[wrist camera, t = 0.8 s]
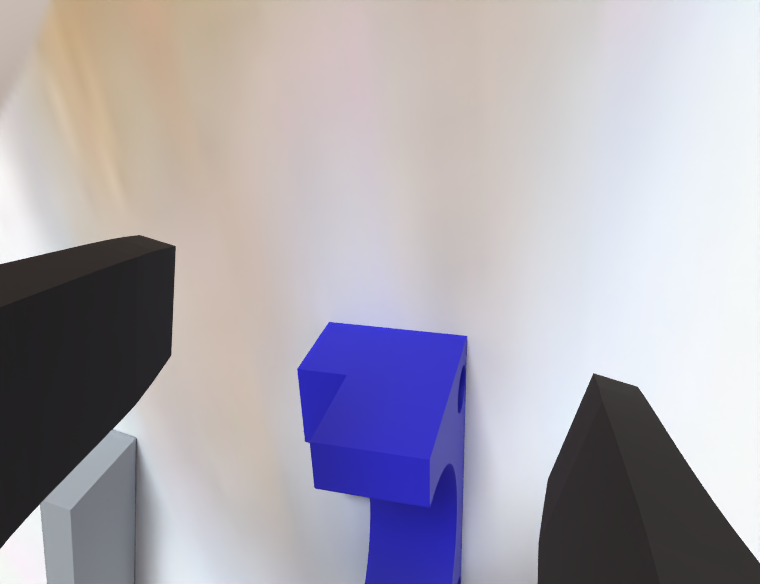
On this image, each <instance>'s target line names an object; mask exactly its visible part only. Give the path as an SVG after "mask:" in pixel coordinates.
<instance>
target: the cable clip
mask: <svg viewBox="0 0 760 584" xmlns="http://www.w3.org/2000/svg"><path fill="white" fill-rule="evenodd" d="M466 357H467V336H462V335H452V334H442V333H432V332H422V331H412V330H402V329H392V328H382V327H373V326H363V325H353V324H343V323H333V322H329V323H328V325H327V326H326V327H325V329H324V330H323V332H322V333H321V335H320V336H319V338H318V339H317V341H316V342H315V344H314V345H313V347H312V348H311V350H310V351H309V353H308V354H307V356H306V357H305V358H304V360H303V361H302V363H301V364H300V366H299V367H298V369H297V370H298V379H299V388H300V398H301V407H302V416H303V426H304V435H305V442H308V443H310V448H311V458H312V467H313V477H314V487H315V488H316V489H322V490H328V491H333V492H339V493H345V494H351V495H357V496H363V497H369V498H370V514H371V516H370V542H369V554H368V564H367V573H366V580H365V584H461V549H462V511H463V472H464V434H465V395H466Z"/></svg>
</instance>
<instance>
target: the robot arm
mask: <svg viewBox="0 0 760 584" xmlns="http://www.w3.org/2000/svg"><path fill="white" fill-rule="evenodd" d="M175 250H176V246H173V245H170V244H167V243H164V242H160V241H157V240H154V239H150V238H147V237H144V236H141V235H138V236H129V237H122V238H116V239H111V240H105V241H101V242H96V243H91V244H87V245H82V246H78V247H73V248H69V249H65V250H60V251H56V252H52V253H47V254H43V255H39V256H34V257H30V258H26V259H21V260H17V261H13V262H8V263H4V264H0V549H1V547H2V546H3V545H4V544H5V542H6V541H7V540H8V539H9V537H10V536H11V535H12V534H13V533H14V532H15V531H16V530H17V528H18V527H19V526H20V525H21V524H22V523H23V522H24V521H25V519H26V518H27V517H28V516H29V515H30V514H31V513H32V512H33V511H34V510H35V509H36V508H37V506H38V505H39V504H40V503H41V502H42V501H43V500H44V499H45V498H46V497H47V496H48V495H49V494H50V493H51V492H52V491H53V490H54V489H55V488H56V487H57V486H58V485H59V484H60V483H61V482H62V481H63V480H64V479H65V478H66V477H67V476H68V475H69V474H70V473H71V472H72V471H73V470H74V468H75V467H76V466H77V465H78V464H79V463H80V462H81V461H82V460H83V459H84V458H85V457H86V456H87V455H88V454H89V453H90V452H91V451H92V450H93V449H94V448H95V447H96V446H97V445H98V444H99V443H100V442H101V441H102V440H103V439H104V438H105V437H106V436H107V434H108V433H109V432H110V431H111V430H112V429H113V428H114V427H115V426H116V425H117V424H118V423H119V422H120V421H121V420H122V419H123V418H124V417H125V416H126V415H127V413H128V412H129V411H130V410H131V409H132V408H133V407H134V406H135V405H136V404H137V402H138V401H139V400H140V398H141V397H142V396H143V394H144V393H145V392H146V390H147V389H148V388H149V386H150V385H151V384H152V382H153V381H154V379H155V378H156V377H157V375H158V374H159V372H160V371H161V369H162V368H163V366H164V365H165V364H166V362H167V361H168V359H169V358H170V356H171V347H172V322H173V298H174V274H175ZM538 584H760V563H759V562H758V560H757V559H756V558H755V556H754V555H753V554H752V553H751V551H750V550H749V549H748V547H747V546H746V545H745V543H744V542H743V541H742V539H741V538H740V537H739V536H738V534H737V533H736V532H735V530H734V529H733V528H732V526H731V525H730V524H729V522H728V521H727V520H726V518H725V517H724V515H723V514H722V513H721V511H720V510H719V508H718V507H717V506H716V504H715V503H714V501H713V500H712V499H711V497H710V496H709V494H708V493H707V491H706V490H705V489H704V487H703V486H702V484H701V483H700V481H699V480H698V478H697V477H696V475H695V474H694V472H693V471H692V469H691V468H690V466H689V465H688V463H687V462H686V460H685V459H684V457H683V456H682V454H681V453H680V451H679V450H678V448H677V447H676V445H675V443H674V442H673V440H672V439H671V437H670V436H669V434H668V432H667V431H666V429H665V428H664V426H663V425H662V423H661V421H660V420H659V418H658V417H657V415H656V414H655V412H654V410H653V409H652V407H651V406H650V404H649V403H648V401H647V400H646V398H645V397H644V395H643V394H642V392H641V391H640V389H639V388H638V387H636V386H633V385H630V384H627V383H623V382H620V381H617V380H613V379H610V378H607V377H604V376H600V375H597V374H594V373H593V376H592V378H591V380H590V383H589V385H588V387H587V390H586V392H585V394H584V397H583V399H582V401H581V404H580V406H579V408H578V411H577V413H576V415H575V418H574V420H573V422H572V425H571V427H570V429H569V432H568V434H567V436H566V439H565V441H564V443H563V446H562V448H561V450H560V453H559V455H558V457H557V460H556V462H555V464H554V467H553V469H552V471H551V474H550V476H549V478H548V482H547V489H546V495H545V502H544V508H543V515H542V522H541V530H540V537H539V551H538Z"/></svg>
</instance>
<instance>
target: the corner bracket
mask: <svg viewBox="0 0 760 584" xmlns="http://www.w3.org/2000/svg"><path fill="white" fill-rule="evenodd" d="M135 481H136V438H135V437H132V436H129V435H126V434H123V433H121V432H118V431H115V430H111V431H110V432H109V433H108V434H107V436H106V437H105V438H104V439H103V440H102V441H101V442H100V443H99V444H98V445H97V446H96V447H95V448H94V449H93V450H92V451H91V452H90V453H89V454H88V455H87V456H86V457H85V458H84V459H83V460H82V461H81V462H80V463H79V464H78V465H77V466H76V467H75V468H74V470H73V471H72V472H71V473H70V474H69V475H68V476H67V477H66V478H65V479H64V480H63V481H62V482H61V483H60V484H59V485H58V486H57V487H56V488H55V489H54V490H53V491H52V492H51V493H50V494H49V495H48V496H47V497H46V498H45V499H44V500H43V501H42V502H41V503H40V509H41V520H42V531H43V542H44V554H45V565H46V576H47V584H134V576H135Z"/></svg>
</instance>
